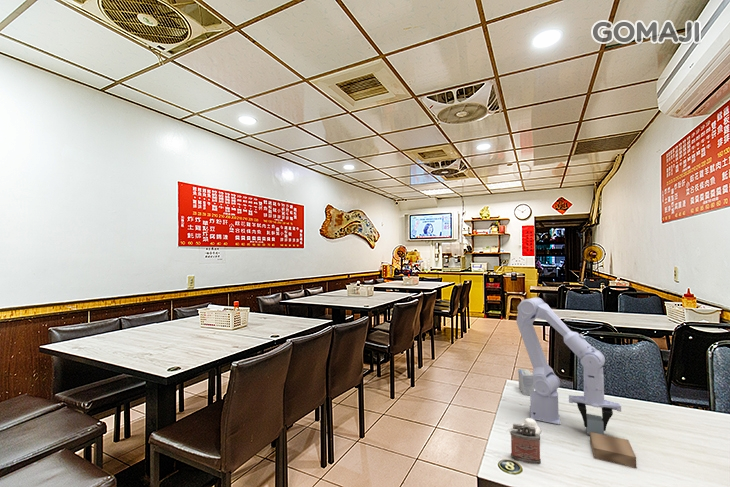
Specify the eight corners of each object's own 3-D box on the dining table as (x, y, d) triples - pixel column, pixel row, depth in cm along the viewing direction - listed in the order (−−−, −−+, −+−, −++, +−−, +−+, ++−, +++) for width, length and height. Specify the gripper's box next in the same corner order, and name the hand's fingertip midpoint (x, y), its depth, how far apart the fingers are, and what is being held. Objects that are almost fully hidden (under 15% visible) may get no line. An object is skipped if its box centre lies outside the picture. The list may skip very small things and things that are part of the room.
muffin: (521, 443, 108) (520, 421, 108) (519, 433, 113) (519, 412, 114) (542, 447, 106) (542, 424, 106) (539, 437, 111) (539, 415, 112)
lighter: (539, 458, 100) (539, 424, 100) (541, 465, 96) (540, 430, 97) (510, 453, 102) (509, 420, 103) (511, 460, 99) (510, 425, 99)
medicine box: (534, 396, 143) (533, 375, 143) (523, 395, 144) (522, 375, 144) (529, 388, 151) (528, 369, 151) (518, 388, 151) (518, 368, 152)
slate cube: (587, 434, 112) (587, 419, 112) (586, 428, 116) (585, 413, 116) (603, 437, 110) (603, 422, 110) (601, 431, 114) (601, 416, 114)
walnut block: (594, 458, 100) (593, 447, 100) (589, 441, 109) (589, 431, 109) (636, 468, 95) (636, 457, 95) (628, 449, 104) (628, 439, 104)
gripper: (569, 387, 113) (570, 428, 113) (622, 395, 106) (623, 439, 106) (568, 380, 119) (568, 418, 119) (618, 387, 113) (619, 428, 112)
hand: (594, 427), depth 113 cm, fingers closed on slate cube, 4 cm apart
